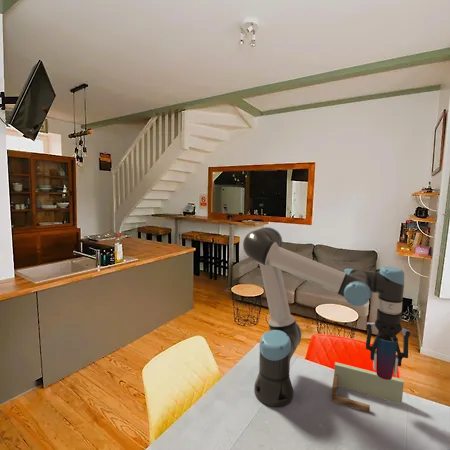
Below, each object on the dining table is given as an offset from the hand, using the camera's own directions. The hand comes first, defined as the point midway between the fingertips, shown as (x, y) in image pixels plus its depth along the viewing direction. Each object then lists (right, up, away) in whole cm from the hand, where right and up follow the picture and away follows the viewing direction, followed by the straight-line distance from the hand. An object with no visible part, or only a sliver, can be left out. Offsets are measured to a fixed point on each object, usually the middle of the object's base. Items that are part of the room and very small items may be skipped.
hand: (384, 370), depth 103 cm
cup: (0, -2, 0) cm, 2 cm away
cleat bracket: (-10, -13, +6) cm, 18 cm away
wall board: (-3, -13, +8) cm, 16 cm away
